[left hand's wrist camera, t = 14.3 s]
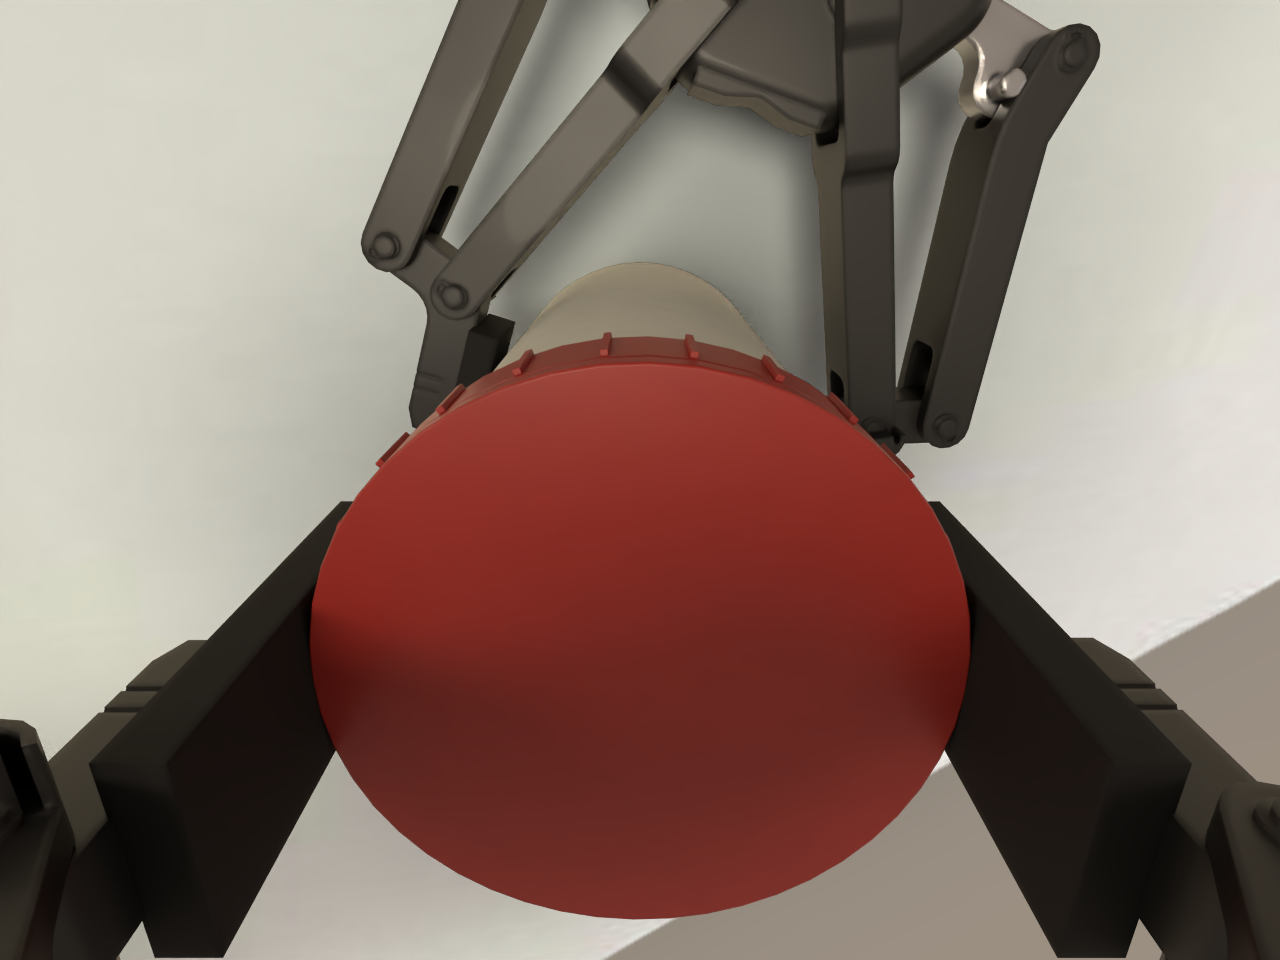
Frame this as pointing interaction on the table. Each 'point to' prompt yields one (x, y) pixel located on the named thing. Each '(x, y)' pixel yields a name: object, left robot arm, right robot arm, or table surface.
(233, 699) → the left robot arm
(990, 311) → the right robot arm
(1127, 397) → the table surface
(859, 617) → the lid
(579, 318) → the jar
